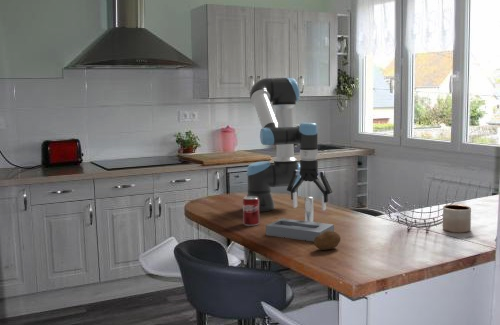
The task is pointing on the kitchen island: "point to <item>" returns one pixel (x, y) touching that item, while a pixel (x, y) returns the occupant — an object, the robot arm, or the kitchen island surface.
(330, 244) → the potato
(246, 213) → the soda can
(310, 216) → the peg
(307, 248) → the kitchen island surface
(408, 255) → the kitchen island surface
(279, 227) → the keyhole board
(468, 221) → the planter
